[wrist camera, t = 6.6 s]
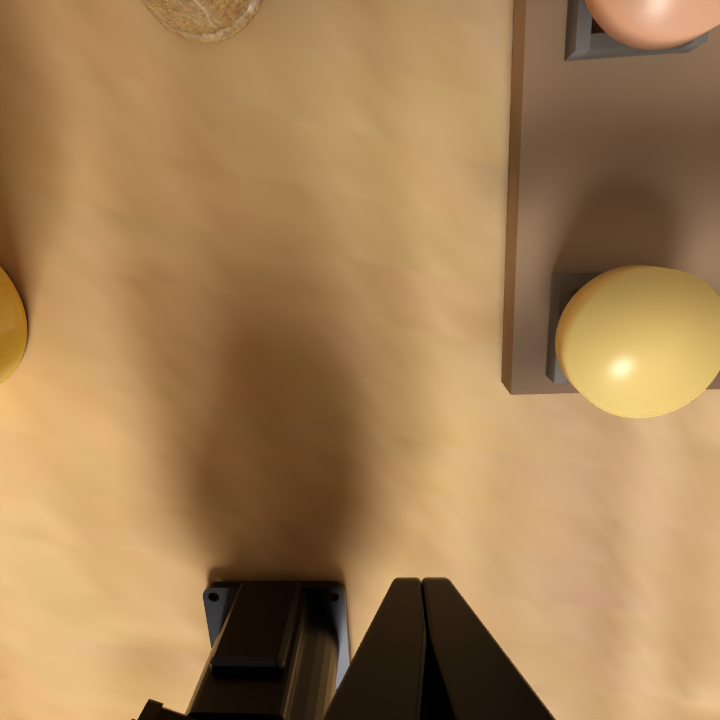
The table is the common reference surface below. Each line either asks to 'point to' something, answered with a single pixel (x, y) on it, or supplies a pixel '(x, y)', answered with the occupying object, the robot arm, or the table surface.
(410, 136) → the table surface
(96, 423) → the table surface
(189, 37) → the sprinkles bottle
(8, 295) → the plant pot
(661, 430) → the table surface
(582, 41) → the board
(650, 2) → the terracotta button
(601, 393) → the ochre button
